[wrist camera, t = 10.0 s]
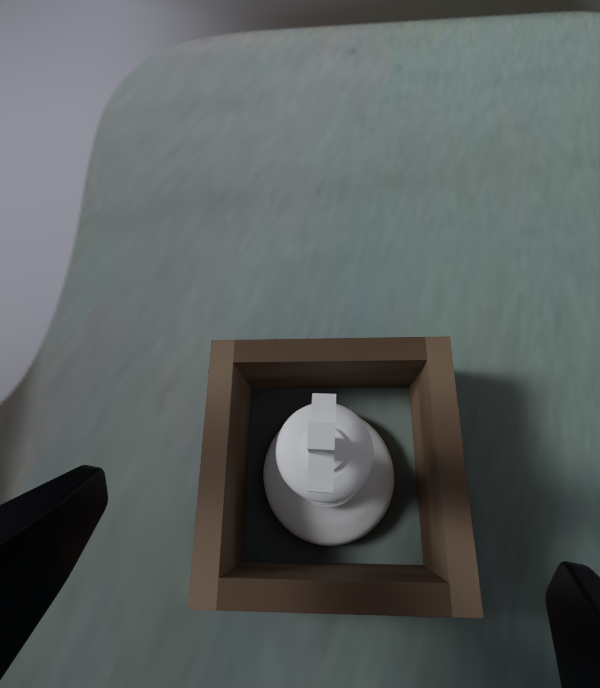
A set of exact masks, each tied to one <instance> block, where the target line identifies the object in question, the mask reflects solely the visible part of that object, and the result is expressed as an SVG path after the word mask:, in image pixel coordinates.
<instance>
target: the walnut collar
mask: <svg viewBox="0 0 600 688" xmlns="http://www.w3.org/2000/svg"><path fill="white" fill-rule="evenodd" d="M355 387H409V391H410V403H411V415H412V428H413V440H414V452H415V465H416V477H417V489H418V502H419V514H420V526H421V539H422V551H423V563H424V565H390V564H343V563H297V562H250V561H243V548H244V528H245V509H246V489H247V470H248V450H249V431H250V411H251V392H252V388H355ZM188 610H222V611H255V612H289V613H322V614H356V615H389V616H423V617H456V618H484V617H483V608H482V600H481V592H480V583H479V575H478V567H477V559H476V550H475V542H474V534H473V525H472V517H471V509H470V500H469V492H468V484H467V475H466V467H465V459H464V450H463V442H462V434H461V425H460V417H459V409H458V401H457V392H456V384H455V376H454V367H453V359H452V351H451V342H450V337H392V338H330V339H269V340H212V341H211V353H210V364H209V375H208V387H207V398H206V409H205V421H204V432H203V443H202V455H201V466H200V477H199V488H198V500H197V511H196V522H195V534H194V545H193V556H192V568H191V579H190V590H189V602H188Z"/></svg>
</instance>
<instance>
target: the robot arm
mask: <svg viewBox="0 0 600 688" xmlns="http://www.w3.org/2000/svg"><path fill="white" fill-rule="evenodd" d="M107 503H108V493H107V486H106V479H105V473H104V471H103V469H102V468H99V467H94V466H89V465H82V466H79V467H77V468H75V469H73V470H71V471H69V472H67V473H65V474H63V475H61V476H59V477H57V478H55V479H53V480H51V481H48V482H46V483H44V484H42V485H40V486H38V487H36V488H34V489H32V490H30V491H28V492H26V493H24V494H22V495H20V496H18V497H16V498H14V499H12V500H10V501H8V502H5V503H3V504H1V505H0V680H1V678H2V677H3V675H4V674H5V672H6V671H7V669H8V668H9V666H10V665H11V663H12V662H13V660H14V659H15V657H16V656H17V654H18V653H19V651H20V650H21V648H22V647H23V645H24V644H25V642H26V641H27V639H28V638H29V636H30V635H31V633H32V632H33V630H34V629H35V627H36V626H37V624H38V623H39V621H40V620H41V618H42V617H43V615H44V614H45V612H46V611H47V609H48V608H49V606H50V605H51V603H52V602H53V600H54V599H55V597H56V596H57V594H58V593H59V591H60V590H61V588H62V587H63V585H64V583H65V582H66V580H67V579H68V577H69V575H70V573H71V572H72V570H73V568H74V566H75V565H76V563H77V561H78V559H79V557H80V555H81V553H82V552H83V550H84V548H85V546H86V544H87V542H88V540H89V539H90V537H91V535H92V533H93V531H94V529H95V527H96V526H97V524H98V522H99V520H100V518H101V516H102V514H103V513H104V511H105V509H106V506H107ZM546 607H547V612H548V618H549V623H550V628H551V634H552V639H553V644H554V650H555V655H556V660H557V665H558V671H559V676H560V681H561V686H562V688H600V577H599V576H598V575H597V574H596V573H595V572H594V571H593V570H592V569H590V568H589V567H588V566H585V565H582V564H577V563H572V562H567V561H563V562H562V563H560V564H559V566H558V567H557V569H556V572H555V574H554V576H553V578H552V580H551V582H550V584H549V586H548V588H547V591H546Z"/></svg>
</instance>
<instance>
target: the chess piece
mask: <svg viewBox="0 0 600 688" xmlns="http://www.w3.org/2000/svg"><path fill="white" fill-rule="evenodd" d="M263 480H264V488H265V493H266V497H267V500H268V503H269V505H270V507H271V509H272V511H273V513H274V515H275V516H276V518H277V519H278V520H279V521H280V523H281V524H282V525H283V526H284V527H285V528H286V529H287V530H288V531H290V532H291V533H292V534H294V535H295V536H297V537H298V538H300V539H302V540H304V541H307V542H310V543H313V544H317V545H323V546H337V545H343V544H347V543H350V542H353V541H356V540H358V539H360V538H361V537H363V536H365V535H366V534H367V533H369V532H370V531H371V530H372V529H373V528H374V527H375V526H376V525H377V524H378V523H379V522H380V520H381V519H382V518H383V516H384V515H385V513H386V511H387V509H388V507H389V504H390V501H391V498H392V494H393V489H394V469H393V464H392V460H391V456H390V453H389V451H388V448H387V446H386V444H385V443H384V441H383V439H382V438H381V436H380V435H379V434H378V433H377V431H376V430H375V429H374V428H373V427H372V426H371V425H370V424H368V423H367V422H366V421H364V420H363V419H361V418H360V417H358V416H357V415H356V414H355V413H354V412H352V411H351V410H349V409H348V408H346V407H344V406H341V405H338V404H336V394H324V393H312V404H310V405H307V406H305V407H303V408H301V409H299V410H297V411H296V412H295V413H293V414H292V415H291V416H290V417H289V418H288V419H287V421H286V422H285V423H284V425H283V427H282V428H281V430H280V431H279V432H278V433H277V435H276V436H275V438H274V439H273V441H272V443H271V445H270V447H269V449H268V452H267V455H266V458H265V463H264V471H263Z"/></svg>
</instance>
